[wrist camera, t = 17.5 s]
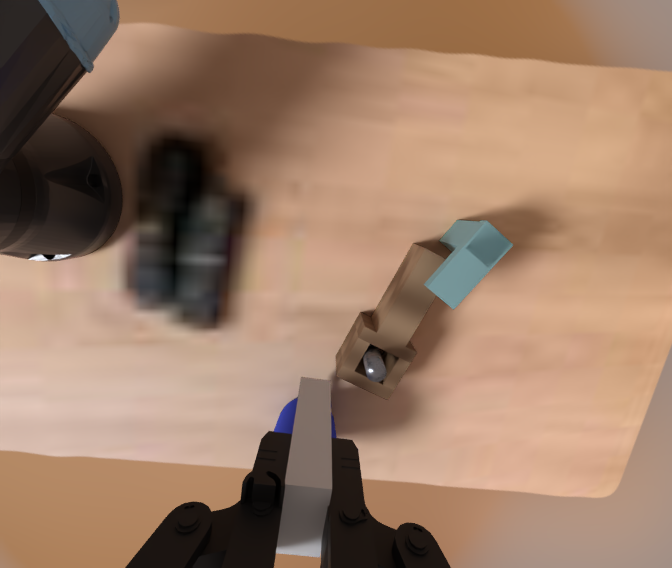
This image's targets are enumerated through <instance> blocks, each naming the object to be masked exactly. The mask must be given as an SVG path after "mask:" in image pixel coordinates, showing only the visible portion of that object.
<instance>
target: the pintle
mask: <svg viewBox="0 0 672 568" xmlns="http://www.w3.org/2000/svg"><path fill="white" fill-rule="evenodd" d="M363 361H364V366H365V370H366V375H367V377H368V379H369V380H371V381H373V382H380V381H382V380H383V379H384V378H385V377H386V374H387V371H386V368H385V365H384V362H383V359H382V356H381V354H380V351H379V348H378V347H376V346H374V345H372V344H370V345H369V346H368V348H367V350H366V352H365V353H364V355H363Z"/></svg>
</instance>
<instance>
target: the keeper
mask: <svg viewBox="0 0 672 568" xmlns="http://www.w3.org/2000/svg"><path fill="white" fill-rule="evenodd" d="M439 241H440V242H441V243H442V244H444V245H445V246H446V247H447V248H448V249H449V250H450V251H452V253H451V254H450V255H449V256H448V258H447V259H446V260H445V261H444V262H443V263H442V264H441V265H440V267H439V268H438V269H437V270H436V271H435V272H434V273H433V274H432V276H431V277H430V278H429V279H428V280H427V281H426V282H425V283H424V285H425V286H426V287H427V288H428V289H429V290H431V291H432V292H433V293H434V294H435V295H437V296H438V297H439V298H440V299H441V300H443V301H444V302H445V303H446V304H447V305H449V306H450V307H451V308H452V309H455V308H456V307H457V306H458V304H459V303H460V302H461V301H462V300H463V299H464V298H465V297H466V296H467V295H468V294H469V293H470V291H471V290H472V289H473V288H474V287H475V286H476V285H477V284H478V283H479V282H480V281H481V280H482V278H483V277H484V276H485V275H486V274H487V273H488V272H489V271H490V270H491V269H492V268H493V267H494V265H495V264H496V263H497V262H498V261H499V260H500V259H501V258H502V257H503V256H504V255H505V254H506V253H507V251H508V250H509V249H510V248H511V247H512V246H513V244H512V243H511V242H510V241H509V240H508V239H506V238H505V237H504V236H503V235H502V234H501V233H500V232H499V231H498V230H497V229H496V228H494V227H493V226H492V225H491V224H490V223H489V222H488V221H486V220H481V221H480V222H478V221H465V220H457V221H456V222H455V223H454V224H453V225H452V227H451V228H450V229H449V230H448V231H447V232H446V233H445V235H444V236H443V237H442V238H441V239H440V240H439Z"/></svg>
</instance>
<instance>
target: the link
mask: <svg viewBox="0 0 672 568" xmlns="http://www.w3.org/2000/svg"><path fill="white" fill-rule="evenodd" d="M445 260H446V259H444V258H443V257H441V256H439V255H437V254H435V253H433V252H431V251H430V250H428V249H426V248H423V247H421V246H418V245H416V244H412V246H411V248H410V250H409V251H408V253H407V255H406V257H405V258H404V260H403V262H402V264H401V265H400V267H399V269H398V271H397V273H396V274H395V276H394V278H393V280H392V281H391V283H390V285H389V287H388V288H387V290H386V292H385V294H384V295H383V297H382V299H381V301H380V302H379V304H378V306H377V308H376V309H375V311H374V313H373V315H372V316H371V317H369V316H367V315H365V314H363V313H361V312H360V314H359V316H358V317H357V319H356V321H355V323H354V324H353V326H352V328H351V330H350V332H349V333H348V335H347V337H346V339H345V341H344V342H343V344H342V346H341V348H340V349H339V351H338V353H337V355H336V373H337V377H339V378H341V379H343V380H345V381H347V382H350V383H352V384H354V385H356V386H358V387H360V388H363V389H365V390H367V391H369V392H371V393H373V394H375V395H378V396H380V397H382V398H384V399H386V400H388V399H389V398H390V396H391V394H392V393H393V391H394V389H395V388H396V386H397V385H398V383H399V381H400V380H401V378H402V376H403V375H404V373H405V372H406V370H407V368H408V367H409V365H410V363H411V362H412V360H413V359H414V357H415V355H416V354H417V351H416V350H415V348H414V347H413V345H412V343H411V342H410V339H411V337H412V335H413V334H414V332H415V330H416V329H417V327H418V325H419V324H420V322H421V320H422V319H423V317H424V316H425V314H426V312H427V311H428V309H429V307H430V306H431V304H432V302H433V301H434V299H435V297H436V296H437V295H435V294H434V293H433V292H432V291H431V290H429V289H428V288H427V287H426V286H425V285H424V283H425V282H426V281H427V280H428V279H429V278H430V277H431V276H432V274H433V273H434V272H435V271H436V270H437V269H438V268H439V267H440V265H441V264H442V263H443V262H444V261H445ZM370 344H372V345H374V346H376V347H378V348H380V349H382V350H384V352H383V354H382V355H381V356H382V359H383V362H384V365H385V368H386V371H387V374H386V377H385V378H384V379H383V380H382V381H380V382H373V381H371V380H369V379H368V377H367V375H366V370H365V366H364V361H363V355H364V353H365V352H366V350H367V348H368V346H369V345H370Z"/></svg>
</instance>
